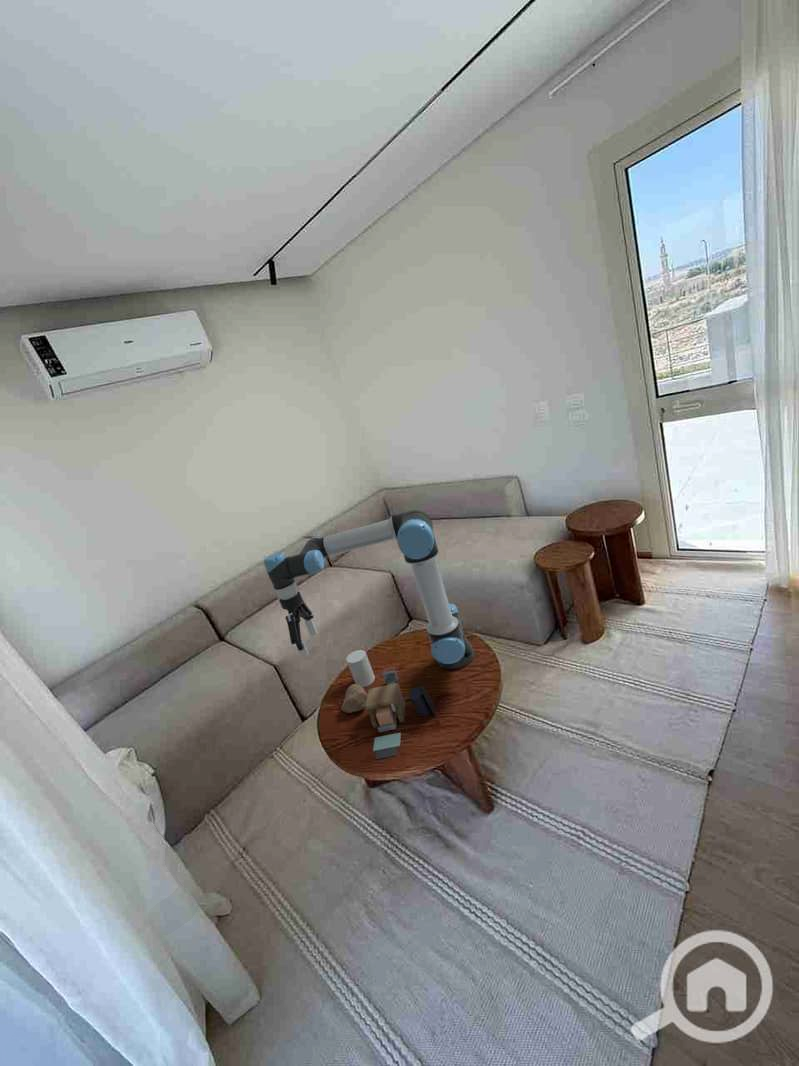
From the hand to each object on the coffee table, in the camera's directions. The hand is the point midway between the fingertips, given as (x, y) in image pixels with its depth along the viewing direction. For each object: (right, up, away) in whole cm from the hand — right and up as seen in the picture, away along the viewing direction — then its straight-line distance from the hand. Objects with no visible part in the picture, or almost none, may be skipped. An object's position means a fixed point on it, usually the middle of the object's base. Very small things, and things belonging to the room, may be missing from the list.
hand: (309, 645), depth 161 cm
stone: (+17, -24, +5) cm, 30 cm away
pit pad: (+29, -29, -22) cm, 46 cm away
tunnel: (+29, -23, -6) cm, 38 cm away
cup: (+19, -19, +18) cm, 32 cm away
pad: (+29, -27, -17) cm, 43 cm away
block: (+29, -23, -10) cm, 39 cm away
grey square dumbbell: (+30, -21, -1) cm, 36 cm away
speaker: (+42, -21, -9) cm, 48 cm away
